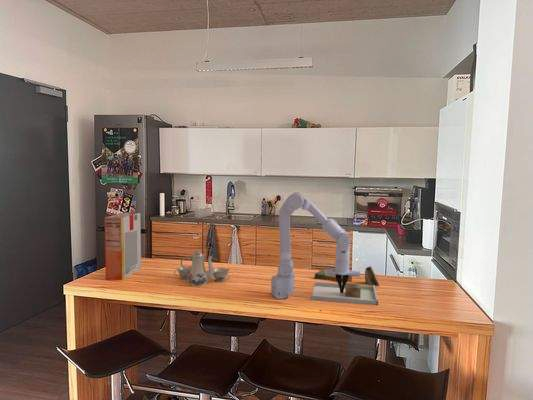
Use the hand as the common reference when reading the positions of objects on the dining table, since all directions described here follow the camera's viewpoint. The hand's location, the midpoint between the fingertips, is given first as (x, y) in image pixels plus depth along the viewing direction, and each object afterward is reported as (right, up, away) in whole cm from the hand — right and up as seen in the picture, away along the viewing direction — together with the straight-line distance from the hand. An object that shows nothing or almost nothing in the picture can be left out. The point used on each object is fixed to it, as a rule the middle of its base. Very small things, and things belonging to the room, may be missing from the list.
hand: (341, 292), depth 159 cm
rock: (+18, -1, +18) cm, 25 cm away
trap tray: (+1, -2, 0) cm, 2 cm away
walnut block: (+4, -1, -1) cm, 5 cm away
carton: (+1, -1, +24) cm, 24 cm away
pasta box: (-104, +1, +34) cm, 110 cm away
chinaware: (-63, 0, +22) cm, 67 cm away
